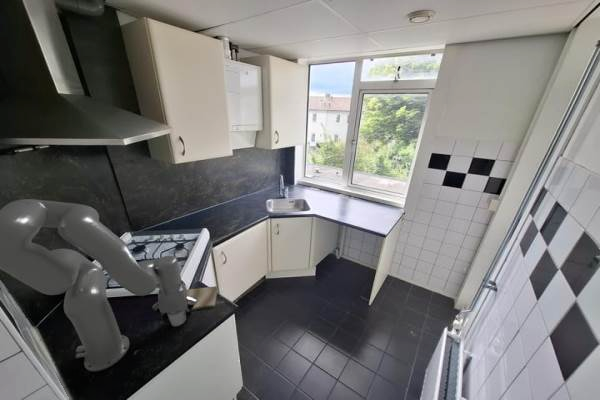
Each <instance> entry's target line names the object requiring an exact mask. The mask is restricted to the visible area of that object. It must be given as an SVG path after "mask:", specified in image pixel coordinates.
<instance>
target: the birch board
mask: <svg viewBox="0 0 600 400" xmlns="http://www.w3.org/2000/svg"><path fill="white" fill-rule="evenodd" d="M218 288H219V286H217V285H215V286H207V287H198V288H191V289H187V290H188V291H187V293H188V296H189V297H191V298H194V299H196V300H197V302H196V304H195V305H194V307H193V308H192V309H191V311H193V310H200V309H206V308H213V307H214V308H215V306H216V301H217V294H218ZM216 292H217V293H216ZM188 303H189V304H191V302H188Z"/></svg>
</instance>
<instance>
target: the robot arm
mask: <svg viewBox="0 0 600 400" xmlns="http://www.w3.org/2000/svg"><path fill="white" fill-rule="evenodd" d="M41 228H57V233H58V234H59V235H60V237H61V238H63V240H65V241H66V242H68V243H69V244H71V245H72V246H73V247H76V248H77V249H79V250H80V251H82V252H83V253H85V254H86V255H88V256H89V257H90V258H91V259H93V260H95V261H97V263H99V264H100V266H101V267H102V269H103V270H104V271H105V272H106V273H107V274H108V275H109V276H110V277H111V278H112V280H114V282H116V283H117V285H119V286H120V287H121V288H123V289H124V290H126V291H127V292H129V293H131V294H133V295H135V296H139V297H144V296H148V295H150V294H151V293H153V292H155V290H156V289H158V292H157V293H158V294H157V299H158V301H157V302H156V303H154V304H153V305H152V307H151V308H152V310H154V311H155V312H156V313H159V314H160V316H162V319H163V320H164V323H167V322H169V321H168V320H169V317H168V314H167V312H175V311H182V310H186V320H190V317H191V316H192V310H191V309H192V308H193V307H194V305H195V304H196V302H197V300H196V299H194V298H191V297H189V296H188V293H187V290H188V289H187V288H186V286H185V284H184V283H183V282H182V277H181V272H180V271H181V270H180V266H179V261H178V258H177V257H176V256H175V255H165V256H162V257H160V258H157V259H148V260H141V261H138V262H137V261H136V259H135V258H134V256H133V254H132V252H131V250H130V248H129V246H128V245H127V243H126V242H125V241H124V240H123V239H122V238H120V237H119V236H118V235H116V234H115V233H114V232H113V231H112V230H110V229H109V228H108V227H107V226H105V225H104V224H103V223H102V222H101V221H100V214H99V212H98V211H97V210H96V209H95V208H93V207H92V206H89V205H85V204H80V203H73V202H63V201H53V200H43V199H35V198H32V199H31V198H30V199H29V198H28V199H27V198H24V199H18V200H17V199H16V200H14V201H11V202H9V203H7V204H6V205H5V206H3V207H2V208H1V209H0V271H3V272H5V273H6V274H8V275H10V276H11V277H12V278H14V279H16V280H18V281H20V282H22V283H23V284H24V285H27V286H29V287H30V288H32V289H34V290H35V291H36V292H37V291H38V292H39V293H41V294H43V295H44V294H45V295H47V296H48V295H49V296H55V295H61V294H64V293H65V296H64V301H63V311H64V313H65V315H66V317H67V318H68V319H69V321H70V322H71V323H72V325H73V328H75V332H76V333H77V335H78V337H79V339H80V341H81V345H79V346H77V348H76V349H75V352H76V354H75V358H76V359H79V358H84V360H83V364H84V367H85V369H86V370H87V371H89V372H99V371H103V370H106V369H107V368H110V367H112V366H113V365H114V364H116V363H118V362H119V361H120V360H121V359H122V358H123V357H124V356H125V355H126V353H127V352H128V351H129V348H130V340H129V338H128V337H127V336H125V335H122V334H121V331H120V328H119V326H118V325H119V324H118V323H117V320H116V317H115V314H114V312H113V308H112V306H111V305H110V302H109V300H108V298H107V297H108V296H107V277H106V273H105V272H104V271H103V270H102V269H101V267H98V266H97V265H96V264H95V263H93V262H92V261H91V260H90V259H88V258H87V257H86V256H84V255H83V254H81V253H80V252H78V251H76V250H73V249H69V248H56V249H55V248H54V249H52V250H50V249H48V248H47V247H45V246H43V245H41V244H38V243H35V242H32V240H33V239H34V237H35V236H36V235H37V234H38V233H39V231H40V230H41ZM188 302H191V304H189V303H188Z"/></svg>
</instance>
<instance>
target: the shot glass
mask: <svg viewBox="0 0 600 400" xmlns="http://www.w3.org/2000/svg"><path fill="white" fill-rule="evenodd" d="M167 314H168V317H169V318H168V320H169V322H170V324H171V326H173V327H178V326H179V327H180V326H181V325H182V324H184V323H185V322H186V320H187V317H186V310H182V311H175V312H167Z"/></svg>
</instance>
